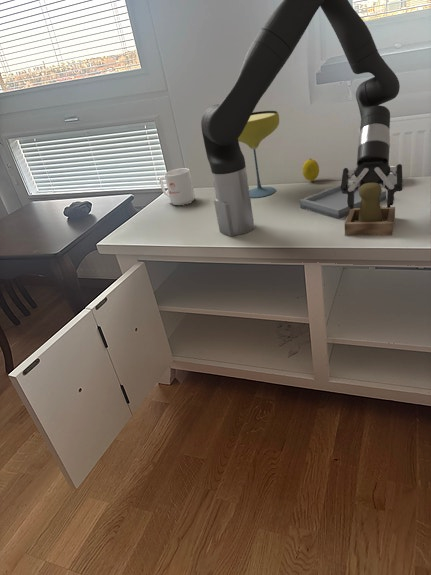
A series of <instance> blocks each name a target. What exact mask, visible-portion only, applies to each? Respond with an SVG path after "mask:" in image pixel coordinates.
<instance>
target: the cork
mask: <svg viewBox="0 0 431 575" xmlns="http://www.w3.org/2000/svg"><path fill="white" fill-rule="evenodd" d="M382 190H383V189H382V187H381V186H380V185H379V184H378V183H366V184H363V185H361V187H360V188H359V195H360V197H361V205H360V213H359V220H357V222H384V220H382V214H381V207H382V206H381V202H380V200H379V196H380V195H381V192H382Z"/></svg>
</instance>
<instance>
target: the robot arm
mask: <svg viewBox="0 0 431 575" xmlns="http://www.w3.org/2000/svg"><path fill="white" fill-rule="evenodd" d="M320 8H321V10H322V11H323V14H324V15H325V17H326V18H327V20H328V22H329V23H330V25H331V28H332V29H333V31H334V33H335V36H336V37H337V39H338V41H339V44H340V46H341V48H342V50H343V53H344V55H345V57H346V59H347V62H348V64H349V66H350V70H352V72H353V74H355V75H361V74H367V73H369V74H371V75H373V77H371V78H369V79H367V80H364V81H363V82H361V83H360V84H359V85H358V86H357V88H356V92H355V98H356V103H357V105H358V110H359V114H360V130H359V131H360V132H359V136H358V144H357V159H356V166H355V168H354V169H349V168H348V167H344V168H343V169H342V175H341V176H342V177H341V183H340V184H341V191H342V193H343V194H348V199H347V204H348V207H350V209H354V194H355V193H356V191H357V190H359V188H360V187H361V185H363V184H366V183H378V184H381V185H382V186H383V187H382V188H384V189H385V191H386V207H387V208H390V207H391V206H393V205H394V201H395V193H396V192H401V191H403V188H404V187H403V184H404V183H403V165H402V164H401V163H399V164H397V165H396V167H390V166H391V165H390V149H391V134H390V127H391V112H390V110H389V108H388V107H386V106H385V105H383V104H385V103H387V102H390V101H392V100H394V99H395V98H396V97H398V94H399V93H400V86H401V85H400V81H399V78H398V76H397V75H396V74H395V72H394V71H393V70H392V68H391V67H390V66H389V65H388V64H387V63H386V62H385V60H384V59H383V57H382V56H381V54H380V52H379V51H378V48H377V45H376V43H375V40H374V38H373V36H372V33H371V31H370V30H369V27H368V26H367V24H366V23H365V21H364V20H363V18H362V17H361V16H360V15H359V13H357V11H356V10H355V9H354V7H353V6H352V4H351V3H350V1H349V0H282V1H281V3H280V4H279V5H278V6H277V7H276V8H275V10H274V11H273V12H272V13H271V15H270V16H269V17H268V18H267V20H266V21H265V23H264V24H263V25H262V26H261V28H260V30H259V31H258V33H257V35H256V36H255V38H254V40H252V42H251V44H250V45H249V48H248V49H247V52H246V54H245V56H244V59H243V62H242V65H241V68H240V70H239V74H238V76H237V79H236V81H235V83H234V84H233V86H232V87H231V89H230V90H229V92H228V93H227V95H226V96H225V97H224V99H223V100H222V101H221V103H220V104H214V105H211V106H209V107H208V108H207V109H206V110H205V111H204V112H203V115H202V116H201V122H200V124H201V126H200V127H201V132H202V133H201V134H202V138H203V143H204V149H205V153H206V157H207V158H206V159H207V160H208V163H209V167H210V172H211V177H212V181H213V182H212V183H213V186H214V191H215V197H216V199H214V200H213V203H214V207H215V208H214V209H215V214H216V217H217V218H216V220H217V224H218V225H217V226H218V229H219V232H220V233H222V234H225V235H226V236H229V237H232V236H238V235H243V234H247V233H248V232H251V231H252V230H254V229H255V222H254V214H253V207H252V200H251V199H252V198H250V193H249V190H250V187H249V180H248V174H247V167H246V166H247V165H246V158H245V156H244V154H243V152H242V148H241V146H240V141H238V138H239V136H240V135H241V133H242V131H243V130H244V128H245V126H246V124H247V122H248V120H249V118H250V116H251V114H252V113H253V112H254V110H255V109H256V107H257V105H258V103H259V102H260V100H261V99H262V97H263V96H264V95H265V93H266V91H268V89H269V87H270V86H271V84H273V82H274V80H275V79H276V77H277V75H278V74H279V73H280V72H281V70H282V68H283V67H284V66H285V64H286V63H287V61H288V60H289V59H290V57H291V55H292V54H293V52H294V50H295V48H297V45H298V43H299V42H300V41H301V39H302V38H303V35H304V34H305V33H306V30H307V29H308V27H309V26H310V23H311V22H312V20H313V18H314V17H315V14H316V13H317V11H318V10H319V9H320ZM390 172H392V173H393V175H394V176H397V184H395V185H393V184H392V183H391V182H390V181H389V179H388V178H387V176H388V175H389V174H390ZM353 176H355V179H354V180H353V182H352V183H351V184H352V185H351V186H350V187H348V183H349V180H351V179H352V177H353Z"/></svg>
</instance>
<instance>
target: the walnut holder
mask: <svg viewBox="0 0 431 575" xmlns="http://www.w3.org/2000/svg"><path fill="white" fill-rule="evenodd" d="M380 207H381V214H382V221H383V222H358V221H359V213H360V208H354V209H350V212H349V214H348V216H346V219H345V222H344V236H393V232H394V227H395V226H394V225H395V219H396V206H390V208H387V206H380Z"/></svg>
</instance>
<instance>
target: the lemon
mask: <svg viewBox="0 0 431 575" xmlns="http://www.w3.org/2000/svg"><path fill="white" fill-rule="evenodd" d="M319 173H320V167H319V164H318V162H317V161H316V160H314V159H313V158H308V159H307V160H306V161H305V162H304V163H303V166H302V175H303V177H304V178H305V179H306V180H308V181H310V182H314V180H315V179H317V178H318V176H319Z"/></svg>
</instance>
